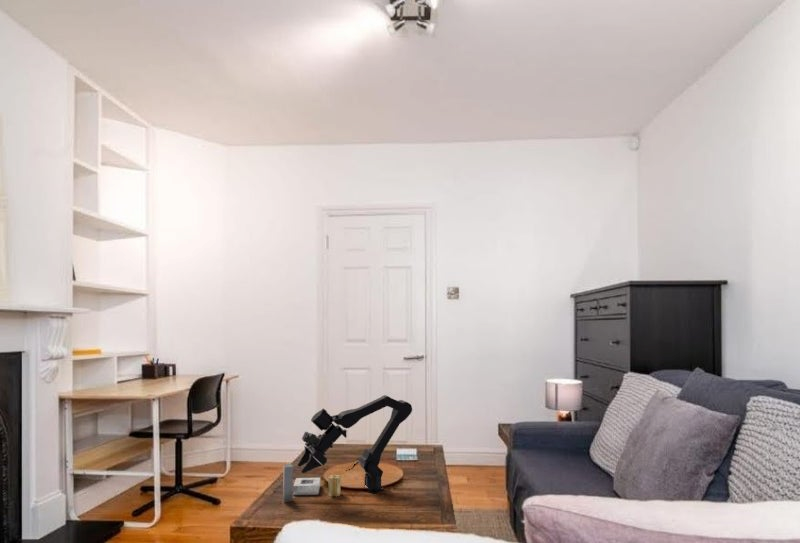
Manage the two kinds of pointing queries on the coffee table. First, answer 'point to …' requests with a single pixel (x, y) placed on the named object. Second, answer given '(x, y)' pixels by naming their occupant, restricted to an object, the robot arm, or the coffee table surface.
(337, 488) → the cross bit
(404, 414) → the robot arm
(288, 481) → the square bit
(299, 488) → the bore block
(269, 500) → the coffee table surface
